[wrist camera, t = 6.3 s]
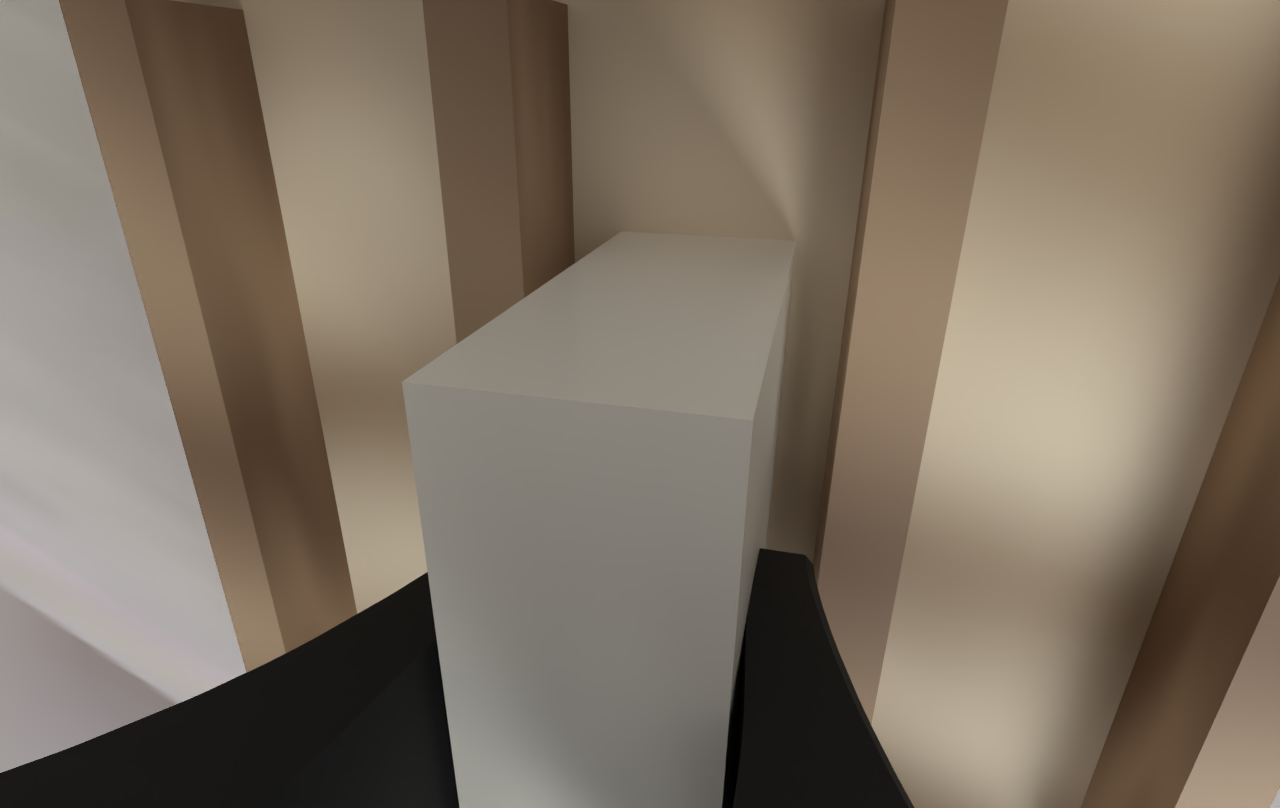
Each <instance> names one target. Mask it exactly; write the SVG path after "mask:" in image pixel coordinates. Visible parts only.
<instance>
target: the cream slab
mask: <svg viewBox="0 0 1280 808" xmlns="http://www.w3.org/2000/svg"><path fill="white" fill-rule="evenodd" d="M795 250H796V241H787V240H769V239H751V238H733V237H715V236H697V235H679V234H661V233H643V232H625V231H621V232H620V233H618V234H617V235H615V236H614V237H613V238H611V239H610V240H608V241H607V242H605V243H604V244H602V245H601V246H599V247H598V248H596V249H595V250H594V251H592V252H591V253H589V254H588V255H586V256H585V257H583V258H582V259H580V260H579V261H577V262H576V263H575V264H573V265H572V266H570V267H569V268H567V269H566V270H564V271H563V272H561V273H560V274H559V275H557V276H556V277H554V278H553V279H551V280H550V281H548V282H547V283H545V284H544V285H542V286H541V287H540V288H538V289H537V290H535V291H534V292H532V293H531V294H529V295H528V296H526V297H525V298H524V299H522V300H521V301H519V302H518V303H516V304H515V305H513V306H512V307H510V308H509V309H507V310H506V311H505V312H503V313H502V314H500V315H499V316H497V317H496V318H494V319H493V320H491V321H490V322H488V323H487V324H486V325H484V326H483V327H481V328H480V329H478V330H477V331H475V332H474V333H472V334H471V335H470V336H468V337H467V338H465V339H464V340H462V341H461V342H459V343H458V344H456V345H455V346H453V347H452V348H451V349H449V350H448V351H446V352H445V353H443V354H442V355H440V356H439V357H437V358H436V359H434V360H433V361H432V362H430V363H429V364H427V365H426V366H424V367H423V368H421V369H420V370H418V371H417V372H416V373H414V374H413V375H411V376H410V377H408V378H407V379H405V380H404V381H402V387H403V394H404V401H405V409H406V416H407V424H408V431H409V438H410V446H411V453H412V461H413V468H414V475H415V483H416V490H417V497H418V505H419V512H420V520H421V527H422V534H423V542H424V549H425V556H426V564H427V571H428V579H429V586H430V593H431V601H432V608H433V616H434V623H435V630H436V638H437V645H438V652H439V660H440V667H441V675H442V682H443V689H444V697H445V704H446V712H447V719H448V726H449V734H450V741H451V748H452V756H453V763H454V771H455V778H456V785H457V793H458V800H459V808H730V800H731V789H732V777H733V766H734V754H735V742H736V731H737V719H738V708H739V696H740V685H741V673H742V661H743V650H744V638H745V627H746V617H747V611H748V606H749V600H750V595H751V590H752V584H753V579H754V574H755V569H756V564H757V559H758V554H759V550H760V548H762V549H767V541H768V531H769V520H770V510H771V499H772V489H773V479H774V468H775V458H776V448H777V437H778V427H779V416H780V406H781V396H782V385H783V375H784V364H785V354H786V344H787V333H788V323H789V313H790V302H791V292H792V281H793V271H794V261H795Z"/></svg>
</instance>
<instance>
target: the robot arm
mask: <svg viewBox="0 0 1280 808" xmlns="http://www.w3.org/2000/svg"><path fill="white" fill-rule="evenodd" d="M0 808H459V800H458V793H457V785H456V778H455V771H454V763H453V756H452V748H451V741H450V734H449V726H448V719H447V712H446V704H445V697H444V689H443V682H442V675H441V667H440V660H439V652H438V645H437V638H436V630H435V623H434V616H433V608H432V601H431V593H430V586H429V579H428V572H426V573H425V574H423V575H422V576H420V577H418V578H417V579H415V580H414V581H412V582H410V583H409V584H407V585H406V586H404V587H402V588H401V589H399V590H398V591H396V592H394V593H393V594H391V595H389V596H388V597H386V598H384V599H382V600H381V601H379V602H377V603H375V604H374V605H372V606H370V607H368V608H367V609H365V610H363V611H361V612H360V613H358V614H356V615H354V616H353V617H351V618H349V619H347V620H346V621H344V622H342V623H340V624H339V625H337V626H335V627H333V628H332V629H330V630H328V631H326V632H325V633H323V634H321V635H319V636H318V637H316V638H314V639H312V640H310V641H308V642H307V643H305V644H303V645H301V646H299V647H297V648H295V649H293V650H291V651H289V652H287V653H285V654H283V655H281V656H280V657H278V658H276V659H274V660H272V661H270V662H268V663H266V664H264V665H262V666H260V667H257V668H255V669H253V670H251V671H249V672H247V673H245V674H243V675H241V676H238V677H236V678H234V679H232V680H230V681H228V682H226V683H224V684H222V685H219V686H217V687H215V688H213V689H211V690H209V691H207V692H204V693H202V694H200V695H198V696H195V697H193V698H191V699H189V700H186V701H184V702H181V703H179V704H176V705H174V706H172V707H169V708H167V709H164V710H162V711H159V712H157V713H155V714H152V715H150V716H147V717H145V718H142V719H140V720H138V721H135V722H133V723H130V724H128V725H125V726H123V727H120V728H118V729H115V730H113V731H111V732H108V733H106V734H103V735H101V736H98V737H96V738H94V739H91V740H89V741H86V742H84V743H81V744H79V745H76V746H74V747H71V748H68V749H66V750H63V751H60V752H58V753H55V754H52V755H49V756H47V757H44V758H42V759H38V760H35V761H33V762H30V763H27V764H24V765H22V766H19V767H16V768H13V769H11V770H8V771H5V772H2V773H0ZM730 808H914V806H913V804H912V802H911V800H910V799H909V797H908V795H907V793H906V792H905V790H904V788H903V786H902V784H901V782H900V780H899V778H898V777H897V775H896V773H895V771H894V769H893V767H892V765H891V763H890V761H889V759H888V757H887V755H886V753H885V752H884V750H883V748H882V746H881V744H880V742H879V740H878V738H877V736H876V734H875V732H874V730H873V728H872V726H871V724H870V721H869V719H868V717H867V715H866V713H865V711H864V709H863V707H862V704H861V702H860V700H859V698H858V696H857V693H856V691H855V689H854V686H853V684H852V681H851V679H850V677H849V674H848V672H847V670H846V667H845V665H844V663H843V660H842V658H841V656H840V653H839V651H838V648H837V645H836V643H835V640H834V638H833V635H832V632H831V629H830V626H829V623H828V621H827V618H826V615H825V612H824V609H823V605H822V602H821V599H820V595H819V592H818V588H817V584H816V579H815V574H814V566H813V564H812V562H811V561H810V560H809V559H808V558H807V556H806V555H803V554H796V553H790V552H783V551H776V550H769V549H762V548H760V550H759V554H758V559H757V564H756V569H755V574H754V579H753V584H752V590H751V595H750V600H749V606H748V611H747V617H746V627H745V638H744V650H743V661H742V673H741V685H740V696H739V708H738V719H737V731H736V742H735V754H734V766H733V777H732V789H731V800H730Z"/></svg>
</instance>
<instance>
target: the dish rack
mask: <svg viewBox="0 0 1280 808" xmlns="http://www.w3.org/2000/svg"><path fill="white" fill-rule="evenodd" d="M59 3H60V6H61V10H62V13H63V17H64V21H65V24H66V28H67V31H68V35H69V38H70V42H71V46H72V49H73V53H74V56H75V60H76V63H77V67H78V71H79V74H80V78H81V81H82V85H83V89H84V92H85V96H86V99H87V103H88V106H89V110H90V114H91V117H92V121H93V124H94V128H95V132H96V135H97V139H98V142H99V146H100V149H101V153H102V157H103V160H104V164H105V167H106V171H107V174H108V178H109V182H110V185H111V189H112V192H113V196H114V200H115V203H116V207H117V210H118V214H119V217H120V221H121V225H122V228H123V232H124V235H125V239H126V243H127V246H128V250H129V253H130V257H131V260H132V264H133V268H134V271H135V275H136V278H137V282H138V285H139V289H140V293H141V296H142V300H143V303H144V307H145V311H146V314H147V318H148V321H149V325H150V328H151V332H152V336H153V339H154V343H155V346H156V350H157V354H158V357H159V361H160V364H161V368H162V371H163V375H164V379H165V382H166V386H167V389H168V393H169V396H170V400H171V404H172V407H173V411H174V414H175V418H176V422H177V425H178V429H179V432H180V436H181V439H182V443H183V447H184V450H185V454H186V457H187V461H188V465H189V468H190V472H191V475H192V479H193V482H194V486H195V490H196V493H197V497H198V500H199V504H200V508H201V511H202V515H203V518H204V522H205V525H206V529H207V533H208V536H209V540H210V543H211V547H212V550H213V554H214V558H215V561H216V565H217V568H218V572H219V576H220V579H221V583H222V586H223V590H224V593H225V597H226V601H227V604H228V608H229V611H230V615H231V619H232V622H233V626H234V629H235V633H236V636H237V640H238V644H239V647H240V651H241V654H242V658H243V661H244V665H245V669H246V672H249V671H251V670H253V669H255V668H257V667H260V666H262V665H264V664H266V663H268V662H270V661H272V660H274V659H276V658H278V657H280V656H281V655H283V654H285V653H287V652H289V651H291V650H293V649H295V648H297V647H299V646H301V645H303V644H305V643H307V642H308V641H310V640H312V639H314V638H316V637H318V636H319V635H321V634H323V633H325V632H326V631H328V630H330V629H332V628H333V627H335V626H337V625H339V624H340V623H342V622H344V621H346V620H347V619H349V618H351V617H353V616H354V615H356V614H358V613H360V612H361V611H363V610H365V609H367V608H368V607H370V606H372V605H374V604H375V603H377V602H379V601H381V600H382V599H384V598H386V597H388V596H389V595H391V594H393V593H394V592H396V591H398V590H399V589H401V588H402V587H404V586H406V585H407V584H409V583H410V582H412V581H414V580H415V579H417V578H418V577H420V576H422V575H423V574H425V573H426V572H428V571H427V564H426V556H425V549H424V542H423V534H422V527H421V520H420V512H419V505H418V497H417V490H416V483H415V475H414V468H413V461H412V453H411V446H410V438H409V431H408V424H407V416H406V409H405V401H404V394H403V387H402V381H404V380H405V379H407V378H408V377H410V376H411V375H413V374H414V373H416V372H417V371H418V370H420V369H421V368H423V367H424V366H426V365H427V364H429V363H430V362H432V361H433V360H434V359H436V358H437V357H439V356H440V355H442V354H443V353H445V352H446V351H448V350H449V349H451V348H452V347H453V346H455V345H456V344H458V343H459V342H461V341H462V340H464V339H465V338H467V337H468V336H470V335H471V334H472V333H474V332H475V331H477V330H478V329H480V328H481V327H483V326H484V325H486V324H487V323H488V322H490V321H491V320H493V319H494V318H496V317H497V316H499V315H500V314H502V313H503V312H505V311H506V310H507V309H509V308H510V307H512V306H513V305H515V304H516V303H518V302H519V301H521V300H522V299H524V298H525V297H526V296H528V295H529V294H531V293H532V292H534V291H535V290H537V289H538V288H540V287H541V286H542V285H544V284H545V283H547V282H548V281H550V280H551V279H553V278H554V277H556V276H557V275H559V274H560V273H561V272H563V271H564V270H566V269H567V268H569V267H570V266H572V265H573V264H575V263H576V262H577V261H579V260H580V259H582V258H583V257H585V256H586V255H588V254H589V253H591V252H592V251H594V250H595V249H596V248H598V247H599V246H601V245H602V244H604V243H605V242H607V241H608V240H610V239H611V238H613V237H614V236H615V235H617V234H618V233H620V232H621V231H625V232H643V233H661V234H679V235H697V236H715V237H733V238H751V239H769V240H787V241H796V250H795V261H794V271H793V281H792V292H791V302H790V313H789V323H788V333H787V344H786V354H785V364H784V375H783V385H782V396H781V406H780V416H779V427H778V437H777V448H776V458H775V468H774V479H773V489H772V499H771V510H770V520H769V531H768V541H767V549H769V550H776V551H783V552H790V553H796V554H803V555H806V556H807V558H808V559H809V560H810V561H811V562H812V564H813V566H814V574H815V579H816V584H817V588H818V592H819V595H820V599H821V602H822V605H823V609H824V612H825V615H826V618H827V621H828V623H829V626H830V629H831V632H832V635H833V638H834V640H835V643H836V645H837V648H838V651H839V653H840V656H841V658H842V660H843V663H844V665H845V667H846V670H847V672H848V674H849V677H850V679H851V681H852V684H853V686H854V689H855V691H856V693H857V696H858V698H859V700H860V702H861V704H862V707H863V709H864V711H865V713H866V715H867V717H868V719H869V721H870V724H871V726H872V728H873V730H874V732H875V734H876V736H877V738H878V740H879V742H880V744H881V746H882V748H883V750H884V752H885V753H886V755H887V757H888V759H889V761H890V763H891V765H892V767H893V769H894V771H895V773H896V775H897V777H898V778H899V780H900V782H901V784H902V786H903V788H904V790H905V792H906V793H907V795H908V797H909V799H910V800H911V802H912V804H913V806H914V808H1270V806H1271V804H1272V802H1273V800H1274V798H1275V796H1276V795H1277V793H1278V791H1279V789H1280V0H59Z"/></svg>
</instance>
